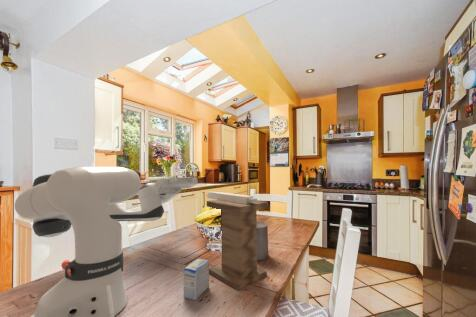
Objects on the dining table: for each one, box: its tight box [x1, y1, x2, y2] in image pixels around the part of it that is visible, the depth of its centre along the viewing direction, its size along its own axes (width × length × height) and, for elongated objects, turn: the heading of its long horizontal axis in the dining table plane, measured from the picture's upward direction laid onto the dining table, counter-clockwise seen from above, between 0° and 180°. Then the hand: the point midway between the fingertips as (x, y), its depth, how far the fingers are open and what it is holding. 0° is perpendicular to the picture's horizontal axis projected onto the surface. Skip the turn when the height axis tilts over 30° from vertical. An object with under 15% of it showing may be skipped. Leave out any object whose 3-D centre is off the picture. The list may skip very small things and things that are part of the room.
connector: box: [206, 190, 258, 204], centre depth 85 cm, size 4×26×2 cm, turn 43°
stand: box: [206, 199, 269, 291], centre depth 81 cm, size 14×18×26 cm
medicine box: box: [183, 258, 210, 301], centre depth 69 cm, size 8×4×9 cm, turn 159°
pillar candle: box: [257, 221, 269, 261], centre depth 97 cm, size 10×10×15 cm
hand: (185, 176), depth 105 cm, fingers open, 8 cm apart
